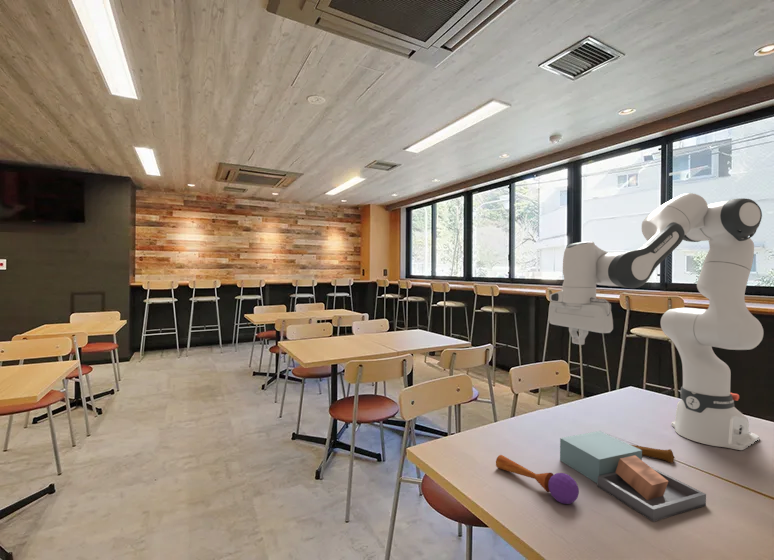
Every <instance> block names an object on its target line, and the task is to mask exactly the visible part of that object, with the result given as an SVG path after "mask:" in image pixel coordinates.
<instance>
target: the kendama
mask: <svg viewBox="0 0 774 560" xmlns="http://www.w3.org/2000/svg"><path fill="white" fill-rule="evenodd" d="M495 466H496V468H497V469H499V470H502V471H503V470H504V471H506V472H510V473H513V474H517V475H521V476H523V477H527V478H531V479H534V480H536V482H537V483H538V484H539V485H540V486H541V488H542V489H544V491H545V492H547V493H550V495H551V497H553V498H554V499H555V500H556V502H557V503H558V502H559V503H560V504H565V505H571V504H573V503H574V502H576V501H577V499H578V497H579V493H580V488H579V486H578V483H577V482H576V480H575V479H574V478H573V477H572V476H571V475H570V474H567V473H564V472H556V473H553V472H544V473H535V472H534V471H532V470H530V469H528V468H526V467H524V466H522V465H520V464H519V463H517V462H515V461H513V460H511V459H510V458H509V457H506V456H505V455H502V454H499V455H498V456H497V457H496V460H495Z"/></svg>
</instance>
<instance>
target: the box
mask: <svg viewBox="0 0 774 560" xmlns="http://www.w3.org/2000/svg"><path fill="white" fill-rule="evenodd" d="M650 467H651V468H652V469H654V470H655V471H656V472H657V473H659V474H660V475H661V476H663V477H664V478H665V479H666V480H668V484H667V487H666V490H665V492H664V495H663V496H661V497H657V498H653V499H650V500H646V499H645V498H644V497H643V496H642V495H641V494H639V493H638V492H637V491H636V490H635V489H634V488H633V487H631V486H630V485H629V484H628V483H627V482H626V481H624V480H623V479H622V478H621V477H620V476H619V475H618V474H616V473H615V472H613V473H609V474H604V475H600V476H598V484H597V488H599V489H601V490H602V491H603V492H606V493H607V494H608V495H610V496H612V497H613V498H615V499H617V500H618V501H620V502H621V503H622V504H624V505H626V506H627V507H629V508H631V509H632V510H634V511H635V512H638V513H639V514H640V515H642V516H643V517H645V518H646V519H648V520H650V521H651V522H657V521H661V520H665V519H667V518H670V517H673V516H674V517H675V516H676V515H680V514H682V513H687V512H689V511H692V510H696V509H699V508H702V507H706V506H707V493H705V492H703V491H701V490H699V489H697V488H694V487H692V486H690V485H688V483H687V484H686V483H685V482H682V481H680V480H678V479H677V478H674V477H673V476H670V475H669V474H666V473H665V472H662V471H661V470H659V469H656V468H654V467H652V466H650Z"/></svg>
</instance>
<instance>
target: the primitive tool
mask: <svg viewBox="0 0 774 560" xmlns="http://www.w3.org/2000/svg"><path fill="white" fill-rule="evenodd" d="M628 444H629V443H628ZM629 445H632V446H634V447H636V448H638V449H640V450H642V457H649V458H653V459H658V460H662V461H665V462H667V463H670V464H673V463H674V461H675V459H676V458H675V456H674V452H673V451H672V449H671V448H669V449H659V448H652V447H647V446H642V445H637V444H629Z"/></svg>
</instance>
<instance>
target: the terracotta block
mask: <svg viewBox="0 0 774 560" xmlns="http://www.w3.org/2000/svg"><path fill="white" fill-rule="evenodd" d="M651 467H652V466H651V465H648V464H647V463H646V462H645V461H643V459H642V460H641V459H639V458H638V457H637V456H635V455H634V456H630V457H625V458H620V459H619V463H618V466H617V469H616V472H615V473H616V474H618V475H619V476H620V477H621V478H622V479H623V480H624V481H626V482H627V483H628V484H629V485H630V486H631V487H633V488H634V489H635V490H636V491H637V492H638V493H639V494H641V495H642V496H643V497H644V498H645V499H646V500H650V499H653V498H657V497H661V496H663V495H664V492H665V490H666V487H667V484H668V480H666V479H665V478H664V477H663V476H661V475H660V474H659V473H657V472H656V471H655V470H654V469H655V468H654V469H652V468H653V467H652V468H651Z"/></svg>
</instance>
